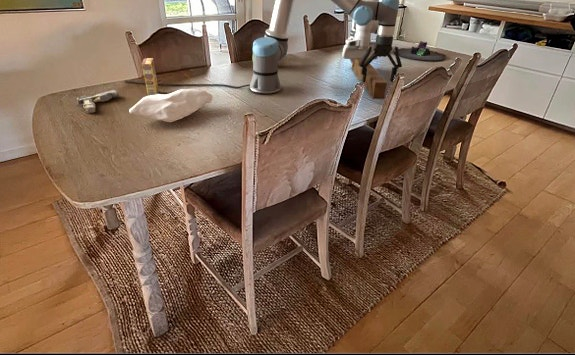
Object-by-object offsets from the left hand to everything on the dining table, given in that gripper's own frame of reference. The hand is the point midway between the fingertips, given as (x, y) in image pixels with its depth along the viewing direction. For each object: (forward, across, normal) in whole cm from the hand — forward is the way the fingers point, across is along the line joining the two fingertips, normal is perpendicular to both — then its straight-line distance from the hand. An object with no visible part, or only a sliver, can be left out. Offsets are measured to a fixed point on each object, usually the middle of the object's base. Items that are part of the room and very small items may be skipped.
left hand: (377, 81), depth 176 cm
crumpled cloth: (+5, +93, +27) cm, 97 cm away
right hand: (+3, 0, -38) cm, 38 cm away
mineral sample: (+6, -52, -79) cm, 94 cm away
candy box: (+5, +106, +6) cm, 106 cm away
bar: (+6, 0, -19) cm, 20 cm away
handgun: (+5, +125, +17) cm, 126 cm away
